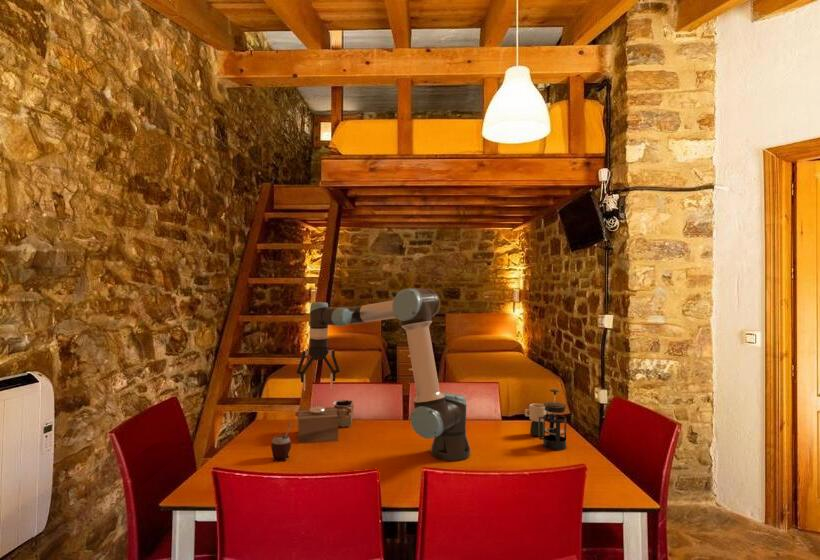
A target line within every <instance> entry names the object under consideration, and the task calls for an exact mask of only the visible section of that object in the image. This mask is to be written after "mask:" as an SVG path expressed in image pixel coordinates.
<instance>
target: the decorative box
mask: <svg viewBox="0 0 820 560" xmlns="http://www.w3.org/2000/svg"><path fill="white" fill-rule="evenodd" d="M332 405H333V407H335V409H336V412H337V415H338V428H339V427H340V428H345V427H351V426H352V422H353V419H354V407H355V406H354V401H353V400H351V399H350V400H349V399H338V400H334V401H333V403H332Z"/></svg>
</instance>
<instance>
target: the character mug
mask: <svg viewBox="0 0 820 560" xmlns="http://www.w3.org/2000/svg"><path fill="white" fill-rule="evenodd" d="M528 412H529V413H528ZM546 414H552V412H548V411H546V410H545V406H544V403H531V404H530V403H529V408H525V409H524V416H525V417H528V418H529V420H530V421H531V423H530V430H529V433H530V434H531V435H533V436H535V437H536V436H537V437H539V417H543V416H544V415H546ZM548 419H550V417H548ZM541 436H542V437H543V419H540V437H541Z"/></svg>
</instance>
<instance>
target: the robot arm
mask: <svg viewBox="0 0 820 560" xmlns="http://www.w3.org/2000/svg"><path fill="white" fill-rule="evenodd" d="M309 308H310V309H309V349H308V350H305V349H304V350H302V351H301V358H300V361H299V363H298V366H297V369H296V374H299V375H300V382H301V383H302V384H303V391H304V392H305V391H306V372H307V370H308V369H309V367H310V365H311V364H312V362H313V361H319V360H320V361H323V360H324V362H325V364H326V365H327V367H328V368H329V370H330V371H331V373H330V381H329V382H330V383H329V384H330V385H329V386H330V387H329V388H330V390H332V391H333V389H334V388H333V387H334V386H333V385H334V384H333V383H334V382H336V374H337V373H340V368H339V364H338V362H337V358H336V355H335V354H336V351H335V350H334V349H331V350H330V349H328V332H329V330H328V329H329V327H328V326H336V327H346V326H348V325H358V324H364V323H371V322H377V321H383V320H384V321H385V320H392V319H397V320H399V321H400V326H401V328H402V329H403V330H405V332H406V337H407V338H406V339H407V345H408V351H409V356H410V357H409V358H410V362H411V368H412V373H413V374H412V375H413V380H414V386H415V392H416V397H415V398H414V399H413V406H414V409H413V411H412V412H411V414H410V424H411V426H412V429H413V431H414V432H415V433H416V434H417V435H419V437H422V438H424V439H433V441H432V443H431V446H430V454H431V456H432V457H433V458H436V459H439V460H441V461H442V460H443V461H450V462H451V461H455V462H456V461H457V462H458V461H462V460H467V459H468V458H470V456H471V447H470V444H469V441H468V437H467V406H468V404H467V399H466V397H465V396H464V395H462V394H457V393H451V392H450V393H448V392H447V393H446V392H441V391H440V390H441V389H440V385H439V383H440V382H439V379H438V372H437V366H436V361H435V354H434V349H433V344H432V337H431V333H430V331H431V330H430V325H431V324H432V323H433V319H432V318H433V317H435V316H436V315H437V314H438V313H439V311H440V308H441V299H440V296H439V295H438V294H437V292H435V291H434V290H432V289H431V288H413V287H412V288H410V287H409V288H404V289H402V290H400V291H398V292H397V293H396V295H395V296H394V298H393V299H392V300H386V301H382V302H376V303H371V304H370V303H368V304H364V305H358V306H350V307H349V306H345V307H344V306H343V307H341V306H340V307H331V306H330V307H329V303H328V302H321V301H320V302H319V301H317V302H311V304H310V307H309ZM328 354H329V355H330V356H331V357H332V358H331V359H332V362H333V364H334V368H335V369H334V368H333V366H332V364H331V363H330V361H329V360H328V358H327V356H328ZM308 355H309V356H310V358H309V360H307V362H306V364H305V365H304V367H303V364H304V361H305V358H306V356H308ZM302 367H303V368H302ZM301 369H302V370H301Z"/></svg>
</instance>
